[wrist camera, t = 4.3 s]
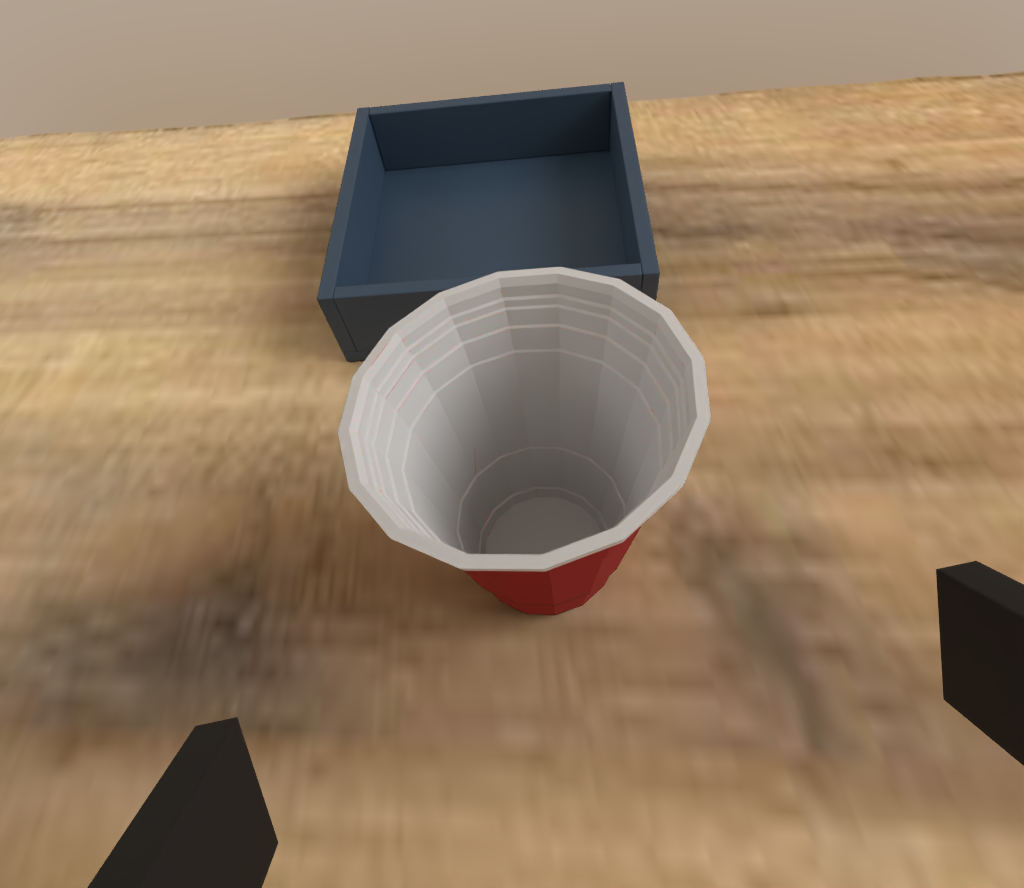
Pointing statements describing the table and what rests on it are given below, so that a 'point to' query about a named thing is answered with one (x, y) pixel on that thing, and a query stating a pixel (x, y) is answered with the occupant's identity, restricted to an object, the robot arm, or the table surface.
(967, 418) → the table surface
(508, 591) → the plastic cup
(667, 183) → the table surface
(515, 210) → the bin
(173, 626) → the table surface
